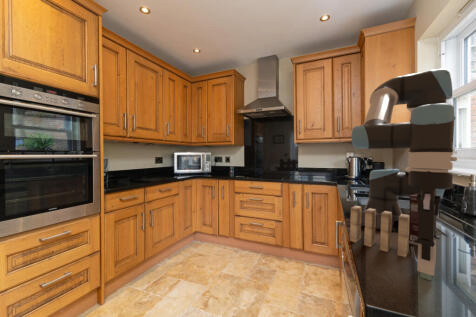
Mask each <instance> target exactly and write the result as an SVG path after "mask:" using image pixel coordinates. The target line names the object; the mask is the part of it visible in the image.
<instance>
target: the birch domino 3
mask: <svg viewBox="0 0 476 317" xmlns="http://www.w3.org/2000/svg"><path fill="white" fill-rule="evenodd" d="M392 228H393V226H392V212H389V211H384V212H383V213H381V229H380V241H379V250H380V251H383V252H387V253H388V252H389V250H391V248H392Z"/></svg>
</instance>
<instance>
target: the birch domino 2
mask: <svg viewBox="0 0 476 317" xmlns="http://www.w3.org/2000/svg"><path fill="white" fill-rule="evenodd" d="M376 230H377V229H376V209H371V208H369V209H367V210H365V227H364V238H363V239H364V240H363V242H364V243H363V244H364V245H363V246H367V247H370V248H371V247H372V246H374V244H376Z"/></svg>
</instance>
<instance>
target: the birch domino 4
mask: <svg viewBox="0 0 476 317" xmlns="http://www.w3.org/2000/svg"><path fill="white" fill-rule="evenodd" d="M409 216H410V215H409V214H405V213H402V214H401V215H400V216H399V221H398V229H397V230H398V232H397V237H398V239H397V256H400V257H403V258H407V256H408V254H409V249H410V248H409V245H410V243H409Z"/></svg>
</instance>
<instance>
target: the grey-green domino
mask: <svg viewBox="0 0 476 317" xmlns="http://www.w3.org/2000/svg"><path fill="white" fill-rule="evenodd" d="M419 272H420V271H419ZM419 277H420V278H422V279H425V280H428V281H430V280H431V281H432V277H433V276H432V275H429V274H426V273H423V272H420V273H419Z"/></svg>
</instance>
